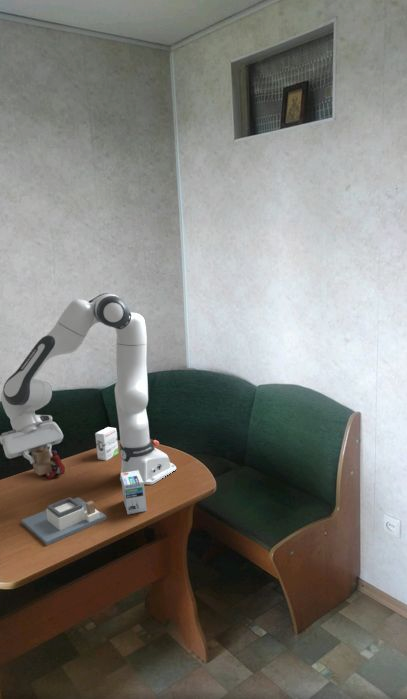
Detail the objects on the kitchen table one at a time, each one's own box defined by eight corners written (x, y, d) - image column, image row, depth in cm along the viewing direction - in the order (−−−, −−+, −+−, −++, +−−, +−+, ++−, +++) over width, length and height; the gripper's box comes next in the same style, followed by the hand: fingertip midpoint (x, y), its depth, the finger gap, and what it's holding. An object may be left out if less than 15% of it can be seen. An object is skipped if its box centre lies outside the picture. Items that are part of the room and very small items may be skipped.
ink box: (110, 451, 232) (107, 426, 230) (119, 453, 230) (116, 427, 228) (97, 459, 225) (94, 432, 223) (106, 460, 223) (103, 434, 220)
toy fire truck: (55, 481, 207) (52, 455, 205) (35, 474, 214) (31, 450, 212) (69, 474, 212) (66, 449, 210) (49, 467, 220) (46, 444, 217)
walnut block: (46, 467, 186) (43, 445, 184) (51, 471, 182) (48, 448, 181) (33, 471, 183) (30, 449, 181) (39, 475, 179) (36, 452, 178)
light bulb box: (147, 511, 179) (144, 481, 177) (127, 515, 177) (124, 485, 175) (141, 497, 189) (139, 469, 187) (122, 501, 188) (119, 472, 185)
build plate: (78, 500, 190) (76, 483, 188) (106, 519, 176) (104, 500, 174) (21, 523, 176) (19, 504, 175) (47, 545, 162) (44, 525, 161)
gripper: (-2, 430, 178) (13, 465, 172) (55, 414, 191) (71, 446, 185) (-5, 439, 182) (10, 474, 177) (51, 423, 195) (66, 455, 190)
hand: (42, 460), depth 181 cm, fingers closed on walnut block, 4 cm apart
